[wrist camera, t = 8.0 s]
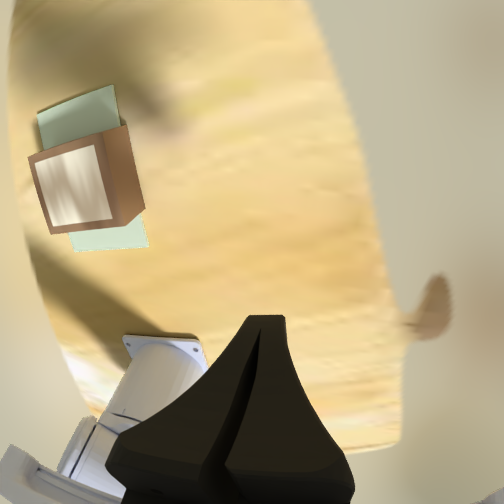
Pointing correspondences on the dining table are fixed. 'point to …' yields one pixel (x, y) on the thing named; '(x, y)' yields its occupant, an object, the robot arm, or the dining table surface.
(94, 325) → the dining table surface
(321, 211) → the dining table surface
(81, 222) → the walnut frame
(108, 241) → the sage mat
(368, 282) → the dining table surface
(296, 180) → the dining table surface
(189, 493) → the robot arm
